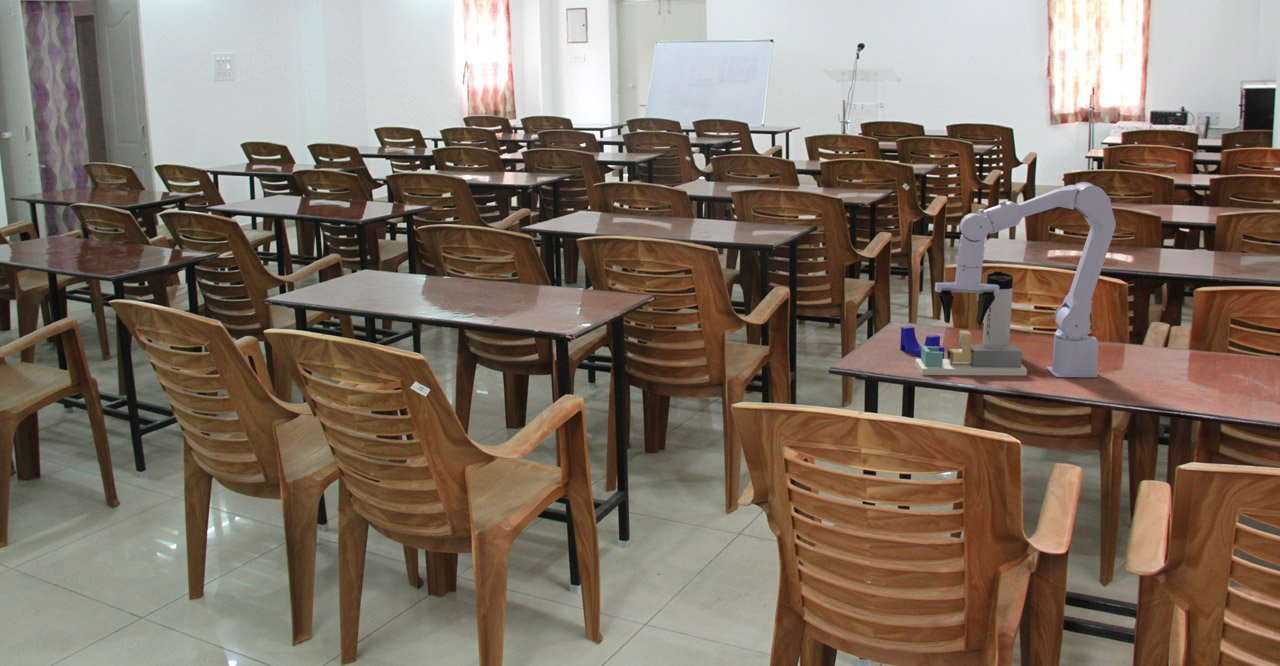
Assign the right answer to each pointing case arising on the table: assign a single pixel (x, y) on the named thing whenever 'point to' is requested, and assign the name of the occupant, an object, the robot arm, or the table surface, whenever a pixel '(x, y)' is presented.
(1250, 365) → the table surface
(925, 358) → the socket
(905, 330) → the blue curved bracket
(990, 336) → the travel mug
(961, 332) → the slide bar
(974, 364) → the sleeve
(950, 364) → the base board
